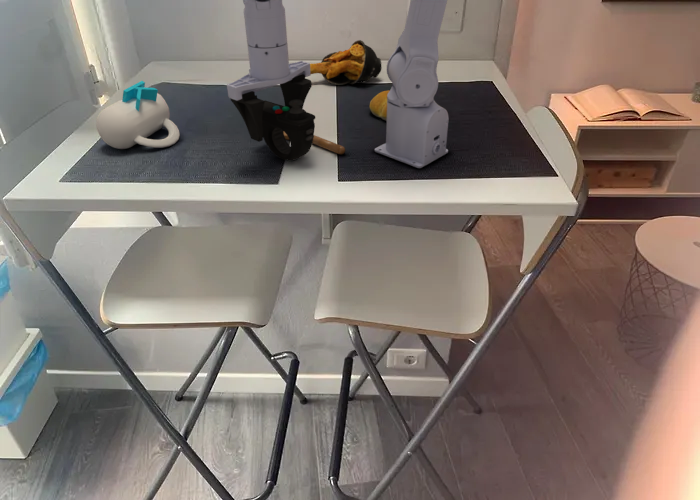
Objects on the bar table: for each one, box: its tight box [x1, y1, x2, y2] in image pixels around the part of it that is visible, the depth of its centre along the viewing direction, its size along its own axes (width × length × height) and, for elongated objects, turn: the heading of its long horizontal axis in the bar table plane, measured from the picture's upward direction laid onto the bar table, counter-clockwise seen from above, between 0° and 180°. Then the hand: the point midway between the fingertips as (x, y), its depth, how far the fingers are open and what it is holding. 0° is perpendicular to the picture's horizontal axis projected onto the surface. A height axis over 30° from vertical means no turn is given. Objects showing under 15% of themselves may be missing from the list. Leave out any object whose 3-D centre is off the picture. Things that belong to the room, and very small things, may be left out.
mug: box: [95, 80, 181, 150], centre depth 95 cm, size 12×9×12 cm
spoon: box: [283, 131, 346, 155], centre depth 97 cm, size 17×6×1 cm, turn 47°
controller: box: [262, 99, 316, 162], centre depth 90 cm, size 4×12×10 cm, turn 50°
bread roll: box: [369, 89, 391, 122], centre depth 106 cm, size 8×9×4 cm
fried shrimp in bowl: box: [310, 39, 383, 86], centre depth 118 cm, size 9×11×18 cm
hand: (275, 131), depth 89 cm, fingers open, 7 cm apart
